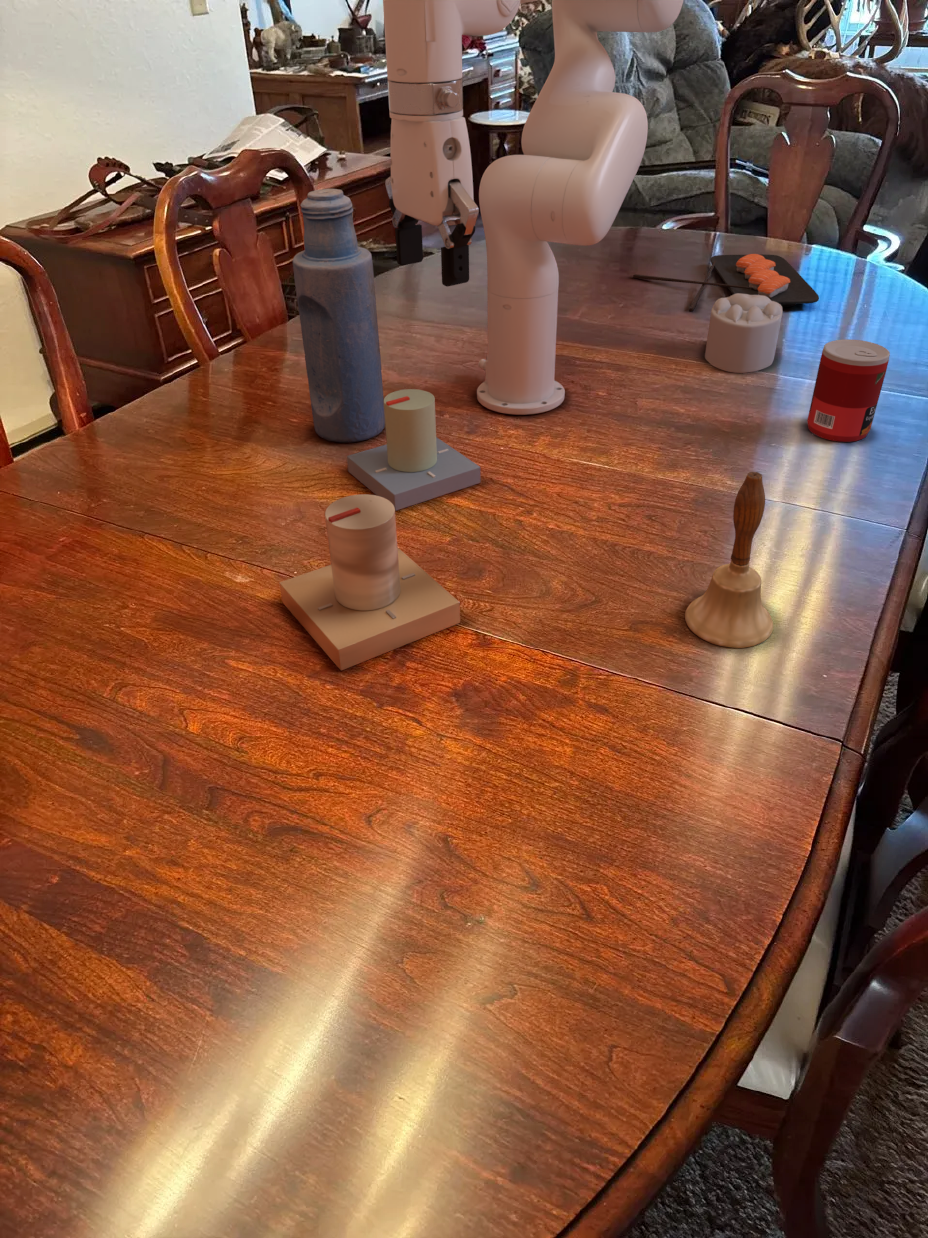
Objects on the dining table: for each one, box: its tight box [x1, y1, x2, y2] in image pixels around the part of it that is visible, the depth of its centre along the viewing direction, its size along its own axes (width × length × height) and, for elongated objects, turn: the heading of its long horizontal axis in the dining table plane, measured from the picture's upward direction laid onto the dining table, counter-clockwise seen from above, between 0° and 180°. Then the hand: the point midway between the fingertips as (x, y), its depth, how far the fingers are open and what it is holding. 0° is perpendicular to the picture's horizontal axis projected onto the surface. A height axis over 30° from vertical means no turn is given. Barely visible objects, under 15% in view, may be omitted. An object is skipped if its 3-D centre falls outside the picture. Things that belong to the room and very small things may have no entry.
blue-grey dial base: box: [346, 436, 482, 512], centre depth 113 cm, size 12×12×2 cm
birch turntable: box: [278, 547, 461, 672], centre depth 90 cm, size 13×13×3 cm
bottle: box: [292, 188, 385, 444], centre depth 116 cm, size 10×10×30 cm
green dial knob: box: [384, 388, 437, 472], centre depth 110 cm, size 6×6×8 cm
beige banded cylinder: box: [324, 493, 401, 611], centre depth 87 cm, size 6×6×9 cm
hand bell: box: [684, 471, 774, 649], centre depth 84 cm, size 8×8×16 cm
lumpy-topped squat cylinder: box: [704, 293, 783, 374], centre depth 141 cm, size 10×13×9 cm
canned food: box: [806, 339, 891, 443], centre depth 119 cm, size 8×8×11 cm
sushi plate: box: [632, 253, 820, 312], centre depth 171 cm, size 29×30×4 cm
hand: (432, 272), depth 103 cm, fingers open, 9 cm apart
